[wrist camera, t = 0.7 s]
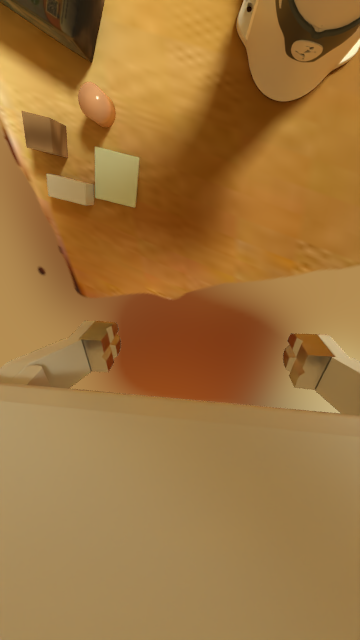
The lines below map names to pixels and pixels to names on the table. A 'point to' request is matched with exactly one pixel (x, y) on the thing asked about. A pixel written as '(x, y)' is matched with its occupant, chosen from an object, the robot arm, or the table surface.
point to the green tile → (116, 176)
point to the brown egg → (96, 104)
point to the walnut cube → (45, 134)
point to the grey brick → (70, 189)
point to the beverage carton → (64, 21)
